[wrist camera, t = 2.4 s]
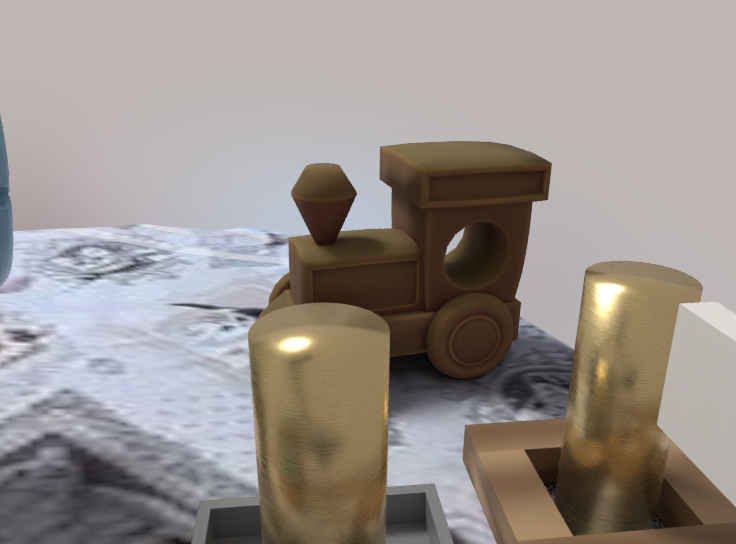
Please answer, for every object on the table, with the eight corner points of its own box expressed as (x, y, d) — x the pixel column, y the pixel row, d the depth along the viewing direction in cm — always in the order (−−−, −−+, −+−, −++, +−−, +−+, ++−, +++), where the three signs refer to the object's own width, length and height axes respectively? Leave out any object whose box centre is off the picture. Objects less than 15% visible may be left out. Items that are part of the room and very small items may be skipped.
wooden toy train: (474, 316, 58) (487, 136, 53) (537, 376, 48) (562, 160, 42) (258, 342, 53) (246, 145, 47) (278, 416, 43) (265, 176, 37)
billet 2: (539, 530, 33) (571, 284, 28) (568, 478, 37) (600, 254, 32) (640, 572, 31) (694, 309, 26) (659, 512, 34) (709, 274, 30)
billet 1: (243, 635, 27) (217, 339, 22) (316, 558, 30) (308, 293, 26) (339, 700, 24) (335, 381, 19) (405, 607, 28) (415, 322, 23)
